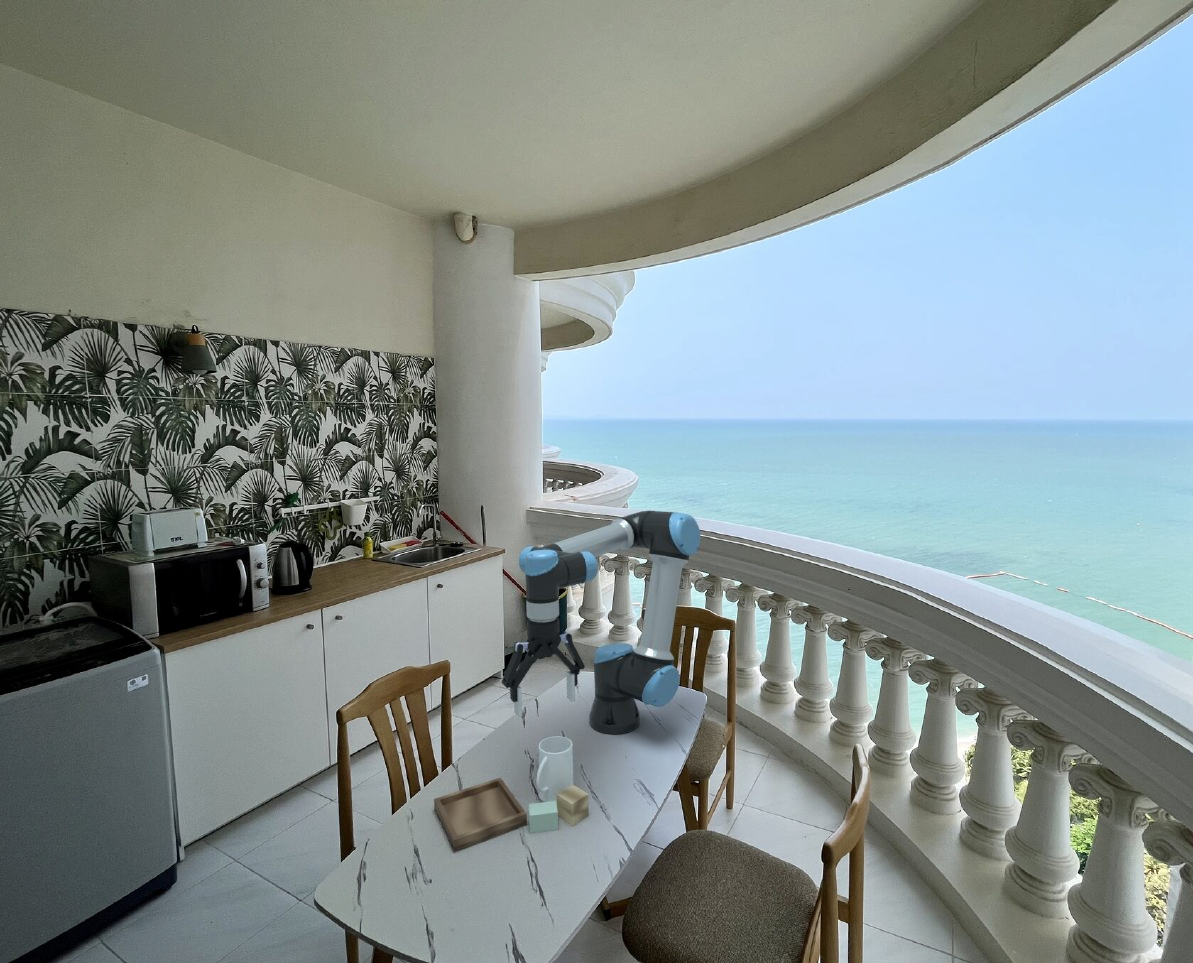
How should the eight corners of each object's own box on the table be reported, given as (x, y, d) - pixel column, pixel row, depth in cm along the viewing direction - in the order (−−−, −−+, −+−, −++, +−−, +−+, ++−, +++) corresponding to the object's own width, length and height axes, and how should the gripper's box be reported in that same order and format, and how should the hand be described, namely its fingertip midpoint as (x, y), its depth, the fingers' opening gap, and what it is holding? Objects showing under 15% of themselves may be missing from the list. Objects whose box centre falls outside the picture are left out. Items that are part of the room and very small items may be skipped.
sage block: (556, 818, 124) (555, 800, 124) (558, 830, 120) (557, 812, 120) (529, 821, 123) (528, 804, 122) (530, 833, 119) (529, 815, 119)
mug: (549, 817, 124) (548, 764, 123) (521, 803, 129) (520, 753, 128) (581, 790, 133) (580, 741, 133) (554, 779, 138) (553, 731, 138)
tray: (500, 787, 135) (500, 777, 135) (527, 824, 121) (526, 813, 121) (434, 809, 127) (434, 799, 127) (454, 852, 113) (454, 840, 113)
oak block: (573, 805, 128) (573, 784, 128) (588, 815, 124) (588, 793, 124) (557, 816, 124) (556, 794, 124) (572, 826, 121) (571, 804, 121)
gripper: (582, 605, 139) (584, 688, 140) (485, 622, 126) (488, 714, 127) (597, 612, 132) (599, 699, 133) (497, 631, 119) (500, 727, 121)
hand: (545, 706), depth 130 cm, fingers open, 13 cm apart
